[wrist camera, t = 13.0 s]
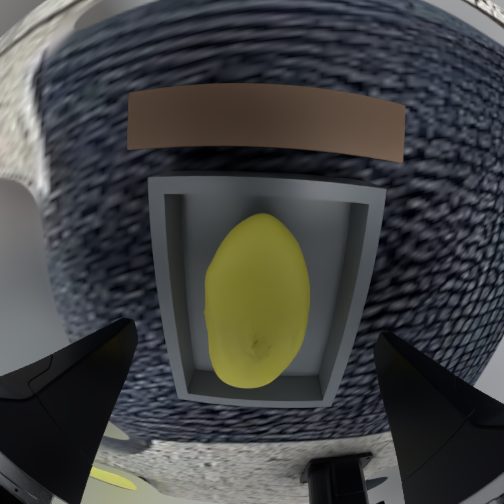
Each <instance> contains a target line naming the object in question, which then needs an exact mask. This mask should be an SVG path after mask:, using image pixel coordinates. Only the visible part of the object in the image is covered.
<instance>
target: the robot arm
mask: <svg viewBox="0 0 504 504" xmlns="http://www.w3.org/2000/svg"><path fill="white" fill-rule="evenodd" d="M137 343H138V334H137V330H136V326H135V322H134V320H133V319H130V318H121V319H119V320H117V321H115V322H114V323H112V324H110V325H108V326H106V327H104V328H102V329H100V330H98V331H96V332H94V333H92V334H90V335H88V336H86V337H84V338H82V339H80V340H78V341H76V342H74V343H72V344H70V345H68V346H67V347H65V348H63V349H61V350H59V351H57V352H55V353H53V354H51V355H49V356H47V357H45V358H43V359H41V360H39V361H37V362H35V363H32V364H30V365H28V366H25V367H23V368H20V369H18V370H15V371H13V372H10V373H8V374H5V375H3V376H0V504H51V503H52V501H53V498H54V496H55V497H57V498H58V499H60V500H62V501H63V502H65V503H67V504H80V503H81V500H82V496H83V493H84V490H85V487H86V483H87V480H88V477H89V474H90V471H91V468H92V464H93V462H94V459H95V456H96V453H97V451H98V448H99V445H100V442H101V440H102V437H103V434H104V432H105V429H106V426H107V424H108V421H109V419H110V416H111V414H112V411H113V409H114V406H115V404H116V401H117V399H118V396H119V394H120V392H121V389H122V387H123V385H124V382H125V380H126V377H127V375H128V372H129V369H130V366H131V362H132V359H133V356H134V353H135V349H136V346H137ZM374 360H375V365H376V371H377V376H378V382H379V388H380V392H381V395H382V399H383V403H384V406H385V410H386V414H387V418H388V421H389V425H390V430H391V434H392V438H393V442H394V447H395V451H396V456H397V461H398V465H399V470H400V475H401V481H402V488H403V494H404V500H405V504H504V404H503V403H501V402H499V401H497V400H496V399H494V398H492V397H490V396H488V395H487V394H485V393H483V392H481V391H479V390H478V389H476V388H474V387H473V386H471V385H470V384H468V383H467V382H465V381H464V380H462V379H461V378H459V377H458V376H455V374H453V373H452V372H450V371H449V370H447V369H446V368H444V367H443V366H441V365H440V364H438V363H437V362H435V361H434V360H433V359H431V358H430V357H428V356H427V355H425V354H424V353H422V352H421V351H419V350H418V349H416V348H415V347H413V346H412V345H410V344H409V343H407V342H406V341H404V340H403V339H401V338H400V337H398V336H397V335H395V334H394V333H392V332H381V333H380V334H379V336H378V339H377V342H376V345H375V348H374ZM372 458H373V454H372V453H367V454H361V455H355V456H347V457H339V458H330V459H318V460H312V461H310V462H309V464H308V466H307V467H306V469H305V471H304V473H303V474H302V476H301V478H300V483H308V487H309V503H310V504H369V501H368V494H367V489H366V484H365V478H364V473H363V468H364V467H365V466H366V465H367V464H368V462H369V461H370V460H371V459H372ZM377 504H385V503H384V501H381V502H379V503H377Z"/></svg>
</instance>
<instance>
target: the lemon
mask: <svg viewBox="0 0 504 504" xmlns="http://www.w3.org/2000/svg"><path fill="white" fill-rule="evenodd" d="M309 309H310V282H309V276H308V271H307V267H306V263H305V260H304V256H303V253H302V251H301V248H300V246H299V244H298V242H297V240H296V239H295V237H294V236H293V234H292V233H291V232H290V231H289V230H288V228H287V227H286V226H285V225H284V224H283V223H282V222H280V221H279V220H278V219H277V218H275V217H274V216H272V215H270V214H266V213H260V214H256V215H253V216H251V217H249V218H247V219H245V220H243V221H242V222H240V223H239V224H238V225H236V226H235V227H234V228H233V229H232V230H231V231H230V232H229V233H228V235H227V236H226V237H225V239H224V240H223V242H222V243H221V245H220V246H219V248H218V250H217V252H216V253H215V255H214V258H213V260H212V262H211V264H210V265H209V267H208V269H207V272H206V276H205V310H204V314H205V322H206V327H207V331H208V344H209V355H210V359H211V363H212V366H213V368H214V371H215V373H216V374H217V376H218V377H219V378H220V379H221V380H222V381H223V382H225V383H226V384H228V385H231V386H234V387H238V388H257V387H261V386H264V385H267V384H268V383H270V382H272V381H273V380H275V379H276V378H277V377H278V376H279V375H280V374H281V373H282V372H283V371H284V370H285V369H286V368H287V367H288V366H289V365H290V363H291V362H292V361H293V359H294V358H295V356H296V355H297V353H298V351H299V349H300V347H301V345H302V343H303V340H304V336H305V332H306V328H307V323H308V317H309Z"/></svg>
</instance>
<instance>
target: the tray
mask: <svg viewBox="0 0 504 504" xmlns="http://www.w3.org/2000/svg"><path fill="white" fill-rule="evenodd" d="M148 195H149V213H150V228H151V240H152V250H153V260H154V269H155V277H156V285H157V292H158V299H159V305H160V312H161V318H162V324H163V330H164V335H165V340H166V346H167V351H168V356H169V360H170V365H171V370H172V374H173V378H174V383H175V387H176V391H177V395H178V399H184V400H191V401H198V402H206V403H215V404H224V405H236V406H250V407H275V408H305V407H330V406H331V405H332V403H333V400H334V398H335V395H336V393H337V390H338V387H339V385H340V382H341V379H342V377H343V374H344V371H345V368H346V365H347V362H348V359H349V356H350V353H351V350H352V347H353V344H354V341H355V337H356V334H357V331H358V327H359V324H360V320H361V317H362V313H363V309H364V306H365V302H366V298H367V294H368V290H369V285H370V281H371V277H372V272H373V268H374V263H375V258H376V253H377V248H378V242H379V237H380V231H381V225H382V219H383V212H384V205H385V197H386V189H385V188H382V187H380V186H377V185H375V184H372V183H369V182H366V181H364V180H357V179H348V178H340V177H330V176H319V175H308V174H294V173H279V172H259V171H223V170H188V171H169V172H165V173H161V174H158V175H154V176H151V177H148ZM260 213H266V214H270V215H272V216H274V217H275V218H277V219H278V220H279V221H280V222H282V223H283V224H284V225H285V226H286V227H287V228H288V230H289V231H290V232H291V233H292V234H293V236H294V237H295V239H296V240H297V242H298V244H299V246H300V248H301V251H302V253H303V256H304V260H305V263H306V267H307V271H308V276H309V282H310V309H309V317H308V323H307V328H306V332H305V336H304V340H303V343H302V345H301V347H300V349H299V351H298V353H297V355H296V356H295V358H294V359H293V361H292V362H291V363H290V365H289V366H288V367H287V368H286V369H285V370H284V371H283V372H282V373H281V374H280V375H279V376H278V377H277V378H276V379H275V380H273V381H272V382H270V383H268V384H267V385H264V386H261V387H257V388H238V387H234V386H231V385H228V384H226V383H225V382H223V381H222V380H221V379H220V378H219V377H218V376H217V374H216V373H215V371H214V368H213V366H212V363H211V359H210V355H209V344H208V331H207V327H206V322H205V314H204V310H205V276H206V272H207V269H208V267H209V265H210V264H211V262H212V260H213V258H214V255H215V253H216V252H217V250H218V248H219V246H220V245H221V243H222V242H223V240H224V239H225V237H226V236H227V235H228V233H229V232H230V231H231V230H232V229H233V228H234V227H235V226H236V225H238V224H239V223H240V222H242V221H243V220H245V219H247V218H249V217H251V216H253V215H256V214H260Z"/></svg>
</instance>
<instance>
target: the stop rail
mask: <svg viewBox="0 0 504 504" xmlns="http://www.w3.org/2000/svg"><path fill="white" fill-rule="evenodd" d="M404 136H405V105H402V104H398V103H394V102H390V101H386V100H382V99H378V98H373V97H368V96H364V95H358V94H353V93H348V92H342V91H335V90H329V89H321V88H313V87H304V86H294V85H280V84H259V83H219V84H198V85H185V86H174V87H165V88H157V89H150V90H143V91H137V92H131V93H129V103H128V127H127V150H136V149H157V148H176V147H262V148H281V149H295V150H307V151H317V152H327V153H335V154H343V155H351V156H358V157H365V158H371V159H379V160H386V161H392V162H399V163H403V153H404Z"/></svg>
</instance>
